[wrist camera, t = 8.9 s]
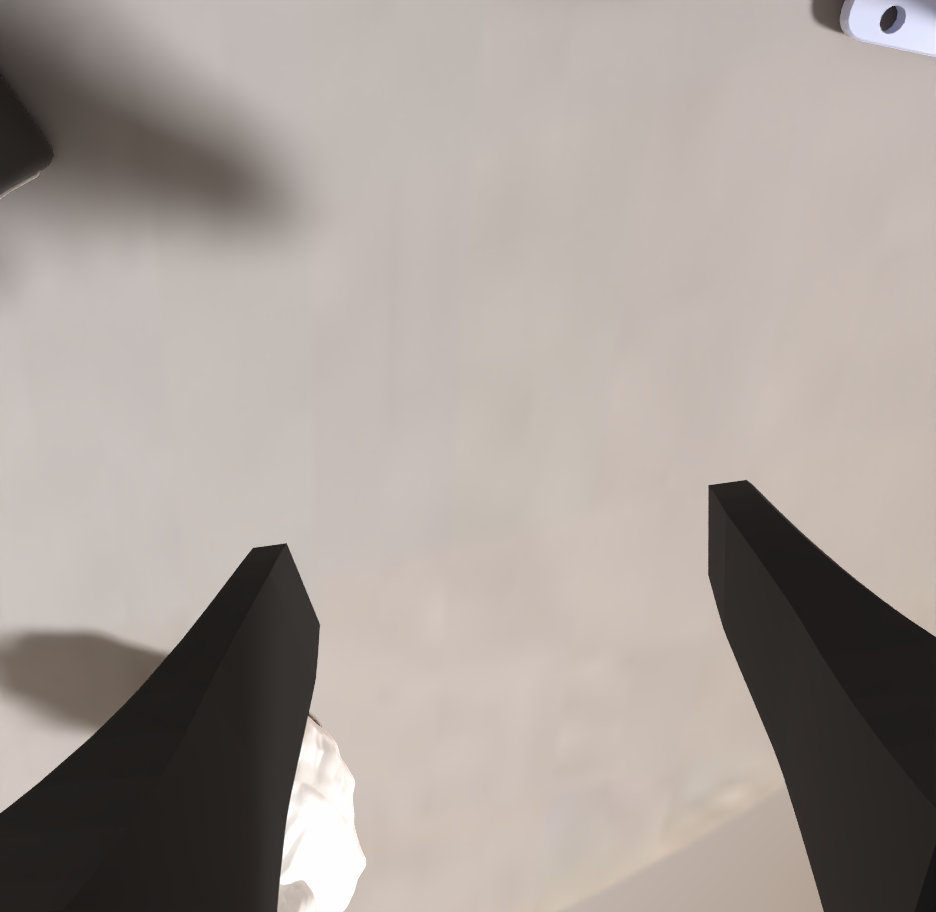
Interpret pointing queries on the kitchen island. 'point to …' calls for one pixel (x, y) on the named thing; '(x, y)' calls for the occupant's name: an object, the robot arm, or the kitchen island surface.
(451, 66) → the kitchen island surface
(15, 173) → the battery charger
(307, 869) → the bust
